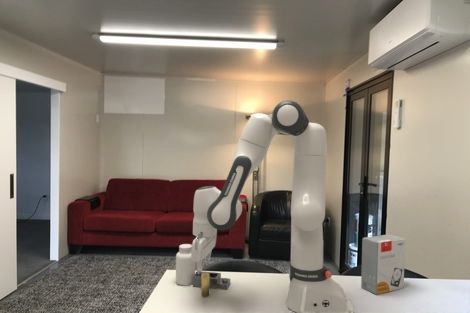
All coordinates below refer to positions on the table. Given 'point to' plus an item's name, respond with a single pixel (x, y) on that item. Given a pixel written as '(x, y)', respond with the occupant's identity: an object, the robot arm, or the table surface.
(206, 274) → the pin
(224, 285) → the chain end
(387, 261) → the hard drive box
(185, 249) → the pill bottle
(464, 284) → the table surface
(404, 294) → the table surface
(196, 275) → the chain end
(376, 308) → the table surface
